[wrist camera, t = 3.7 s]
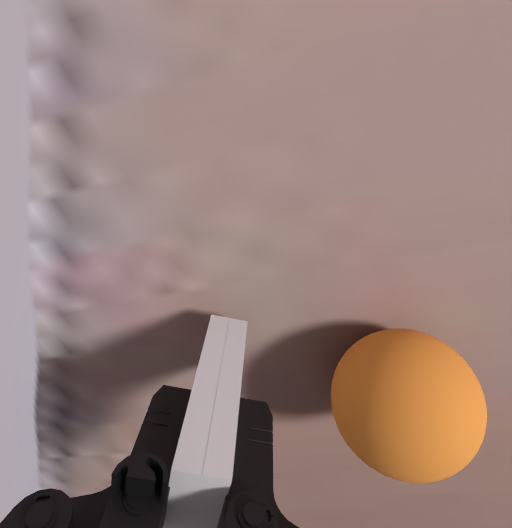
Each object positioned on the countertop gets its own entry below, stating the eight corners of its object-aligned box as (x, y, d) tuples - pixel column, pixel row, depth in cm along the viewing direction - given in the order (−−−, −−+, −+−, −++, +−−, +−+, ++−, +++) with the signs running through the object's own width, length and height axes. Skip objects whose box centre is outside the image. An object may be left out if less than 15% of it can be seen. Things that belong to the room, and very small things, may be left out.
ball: (371, 412, 18) (409, 535, 13) (297, 351, 16) (309, 465, 12) (469, 353, 16) (556, 471, 11) (396, 278, 15) (461, 377, 10)
